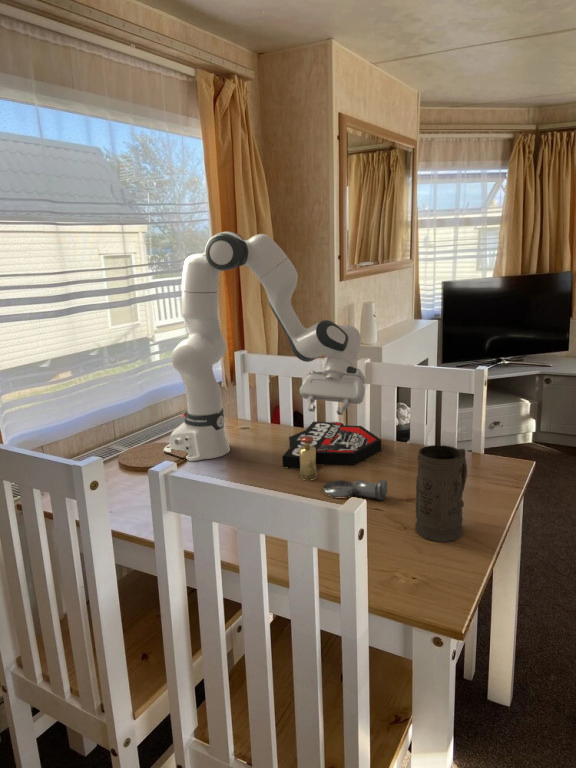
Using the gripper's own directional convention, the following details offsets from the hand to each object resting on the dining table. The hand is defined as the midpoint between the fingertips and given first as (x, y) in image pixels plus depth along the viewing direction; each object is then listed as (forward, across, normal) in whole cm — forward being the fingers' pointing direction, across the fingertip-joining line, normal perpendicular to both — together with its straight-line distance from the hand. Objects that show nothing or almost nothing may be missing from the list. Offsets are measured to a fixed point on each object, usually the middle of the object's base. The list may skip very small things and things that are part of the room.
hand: (325, 412), depth 173 cm
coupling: (+24, +16, -1) cm, 28 cm away
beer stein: (+30, +42, -6) cm, 52 cm away
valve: (+20, 0, +3) cm, 20 cm away
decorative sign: (+4, -2, +19) cm, 20 cm away
